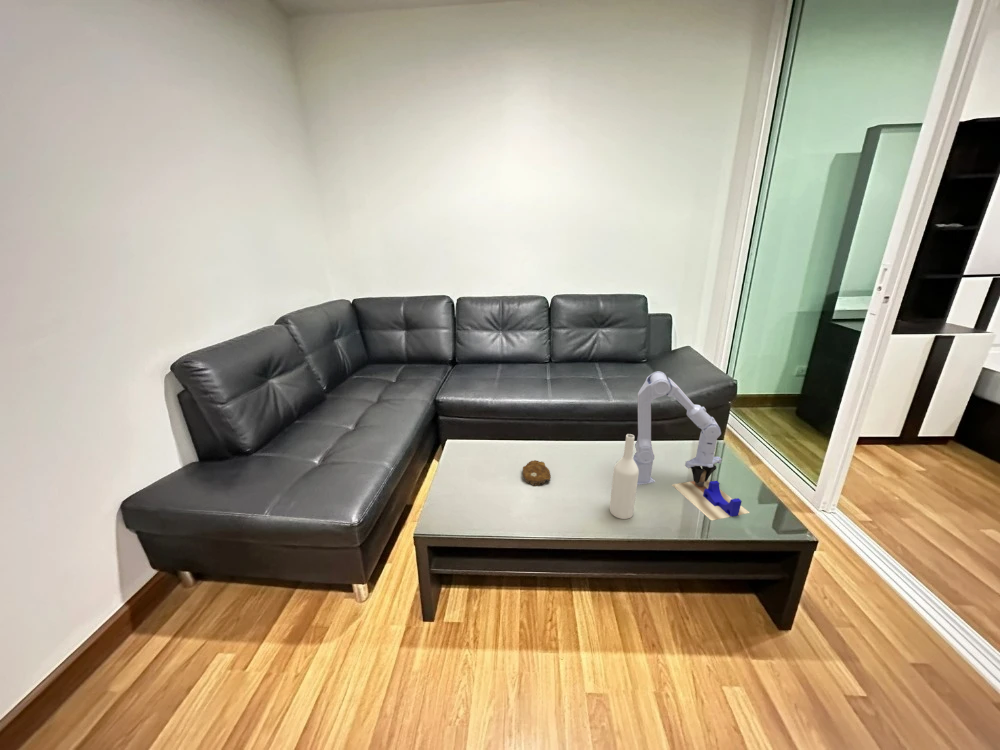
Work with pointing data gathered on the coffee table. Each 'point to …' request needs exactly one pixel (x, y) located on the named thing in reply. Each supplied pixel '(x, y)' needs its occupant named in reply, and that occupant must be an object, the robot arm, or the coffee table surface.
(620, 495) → the bottle
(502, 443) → the coffee table surface
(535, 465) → the decorative rock
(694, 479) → the robot arm
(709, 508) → the plywood sheet
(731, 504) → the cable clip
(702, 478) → the cylindrical peg
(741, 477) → the coffee table surface
